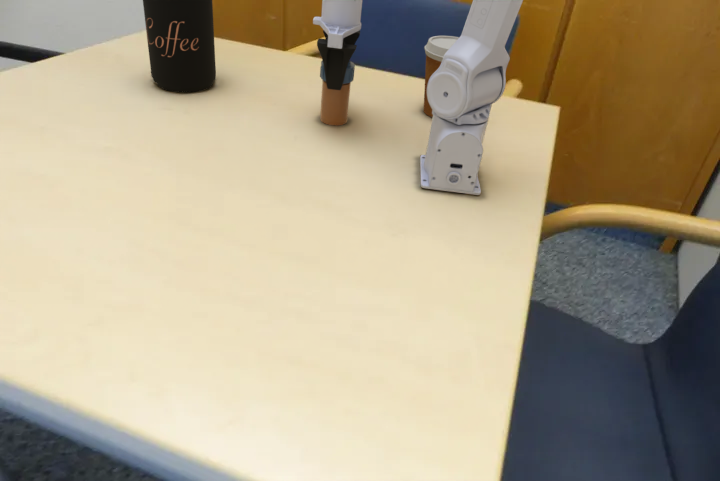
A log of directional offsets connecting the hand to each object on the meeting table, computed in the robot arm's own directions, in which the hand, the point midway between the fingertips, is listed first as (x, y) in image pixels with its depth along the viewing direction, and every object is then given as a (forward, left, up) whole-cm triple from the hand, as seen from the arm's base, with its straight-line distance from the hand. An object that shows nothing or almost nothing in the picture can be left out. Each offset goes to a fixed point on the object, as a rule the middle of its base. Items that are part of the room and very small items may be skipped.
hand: (336, 82), depth 86 cm
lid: (0, 0, +3) cm, 3 cm away
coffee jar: (+8, +27, -6) cm, 29 cm away
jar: (0, 0, -6) cm, 6 cm away
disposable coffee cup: (+9, -18, -6) cm, 21 cm away
